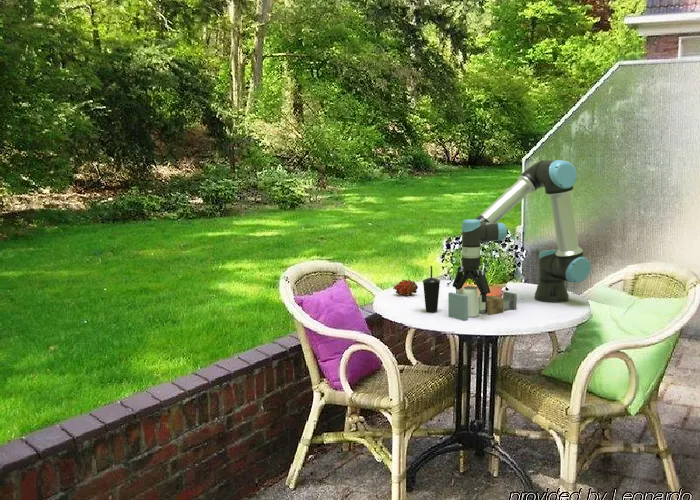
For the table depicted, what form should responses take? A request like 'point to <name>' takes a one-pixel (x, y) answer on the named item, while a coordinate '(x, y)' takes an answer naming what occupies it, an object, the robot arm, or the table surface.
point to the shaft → (506, 302)
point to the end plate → (458, 306)
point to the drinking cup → (431, 293)
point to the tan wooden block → (494, 305)
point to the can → (472, 300)
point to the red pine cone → (406, 287)
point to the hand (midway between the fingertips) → (470, 307)
